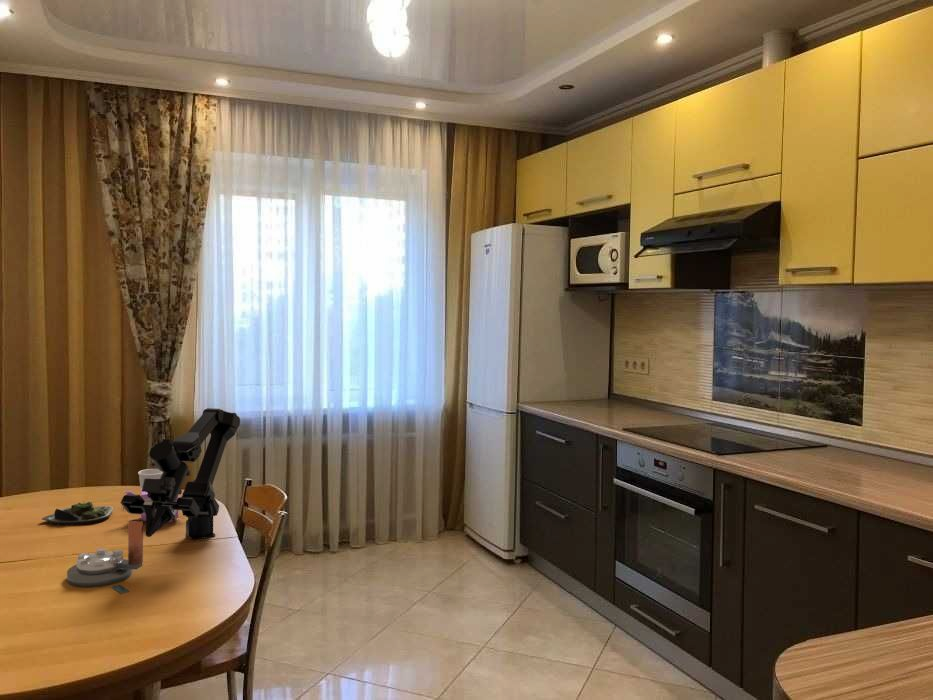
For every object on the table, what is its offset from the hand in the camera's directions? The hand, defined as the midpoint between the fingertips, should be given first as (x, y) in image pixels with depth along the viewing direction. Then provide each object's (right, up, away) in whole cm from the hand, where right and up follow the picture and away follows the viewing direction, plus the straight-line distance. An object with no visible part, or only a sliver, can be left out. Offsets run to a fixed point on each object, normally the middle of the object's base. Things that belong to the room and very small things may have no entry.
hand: (147, 536), depth 175 cm
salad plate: (-39, -6, +41) cm, 57 cm away
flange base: (-8, -9, -7) cm, 13 cm away
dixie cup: (-27, -5, +62) cm, 68 cm away
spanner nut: (-7, -6, -4) cm, 10 cm away
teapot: (-15, -6, +42) cm, 45 cm away
